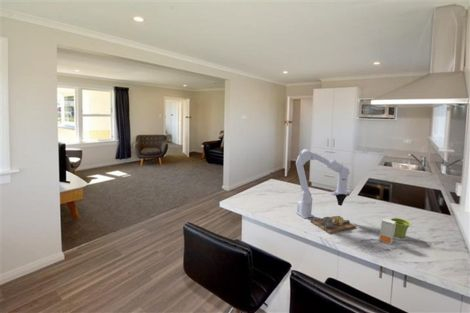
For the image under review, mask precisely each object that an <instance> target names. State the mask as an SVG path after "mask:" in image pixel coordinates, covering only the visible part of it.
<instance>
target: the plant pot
mask: <svg viewBox="0 0 470 313" xmlns="http://www.w3.org/2000/svg"><path fill="white" fill-rule="evenodd" d="M390 220H392V221H395V222H396V226H395V233H394V238H398V239H404V238H405V237H406V233H407V231H408V229H409V226H411V222H410V221H408V220H406V219H404V218H403V219H402V218H397V217H393V218H392V217H391V218H390Z"/></svg>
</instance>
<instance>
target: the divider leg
mask: <svg viewBox="0 0 470 313" xmlns="http://www.w3.org/2000/svg"><path fill="white" fill-rule="evenodd" d="M334 218H335V220H334V222H337V223H338V226H341V225H343V219H344V217H343V216H340V215H335V217H334Z"/></svg>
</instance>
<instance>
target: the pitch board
mask: <svg viewBox="0 0 470 313" xmlns="http://www.w3.org/2000/svg"><path fill="white" fill-rule="evenodd" d="M335 216H336V215H335ZM335 216H324V217H323V218H316V219H312V220H310V223H311V224H313V225H314V226H316V227H317V226H318V228H320V229H321V230H323V231H324V232H325V233H328V234H334V232H335V233H338V232H343V231H348V230H353V229H356V228H357V225H355V224H353V223H351V222H350V220H349V219H346V220H345V219H344V218H343V225H341V226H338V223H337V222H334V220H335V218H334V217H335Z"/></svg>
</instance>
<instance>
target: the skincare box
mask: <svg viewBox="0 0 470 313" xmlns="http://www.w3.org/2000/svg"><path fill="white" fill-rule="evenodd" d="M395 226H396V222H395V221H392V220H391V219H388V218H383V219H382V220H381V222H380V231H379V236H378V241H379V242H382V243H386V244H388V245H392V243H393V242H394V238H395V236H394V233H395Z"/></svg>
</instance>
